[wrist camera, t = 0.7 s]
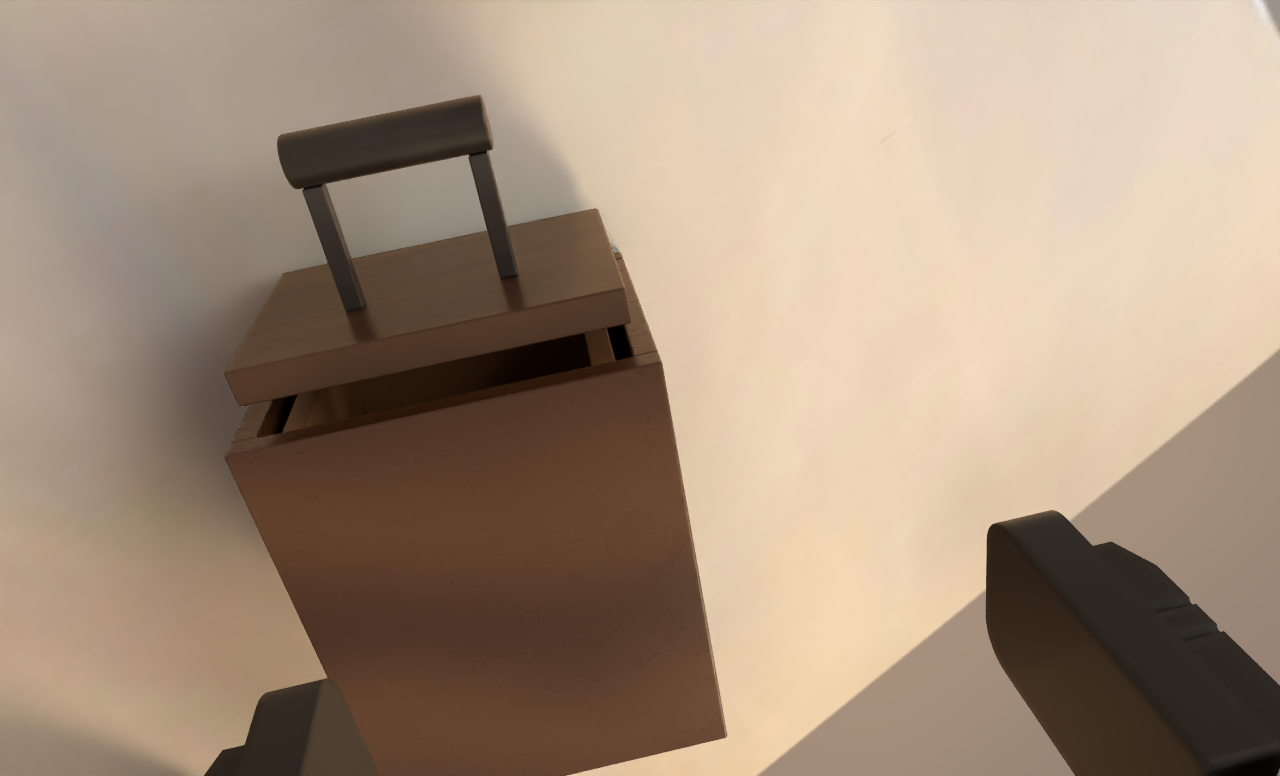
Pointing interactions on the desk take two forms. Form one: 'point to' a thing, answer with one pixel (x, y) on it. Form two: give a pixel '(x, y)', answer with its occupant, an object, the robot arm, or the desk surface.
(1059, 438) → the desk surface
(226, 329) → the desk surface
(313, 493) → the cabinet
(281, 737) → the robot arm
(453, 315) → the drawer
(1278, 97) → the desk surface
